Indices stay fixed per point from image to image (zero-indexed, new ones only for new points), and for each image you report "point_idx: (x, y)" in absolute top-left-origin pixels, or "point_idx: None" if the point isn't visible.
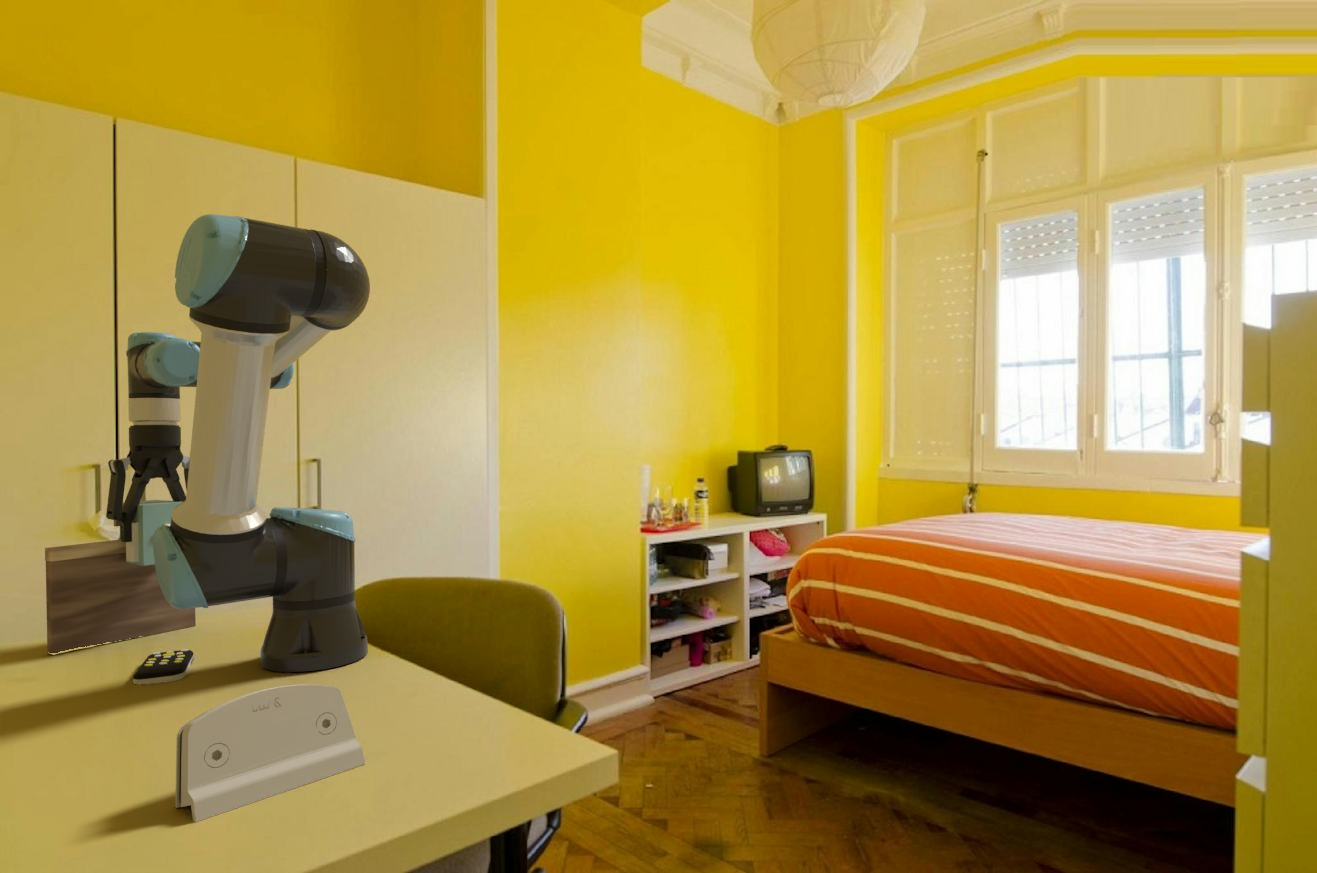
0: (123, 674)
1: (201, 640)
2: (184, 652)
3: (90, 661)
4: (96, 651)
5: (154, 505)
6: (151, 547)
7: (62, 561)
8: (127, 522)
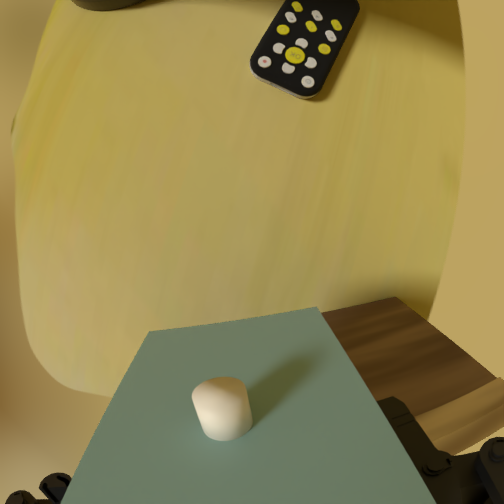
0: (358, 68)
1: (186, 199)
2: (268, 50)
3: (374, 202)
4: (346, 273)
5: None
6: (300, 345)
7: (479, 386)
8: (434, 451)
